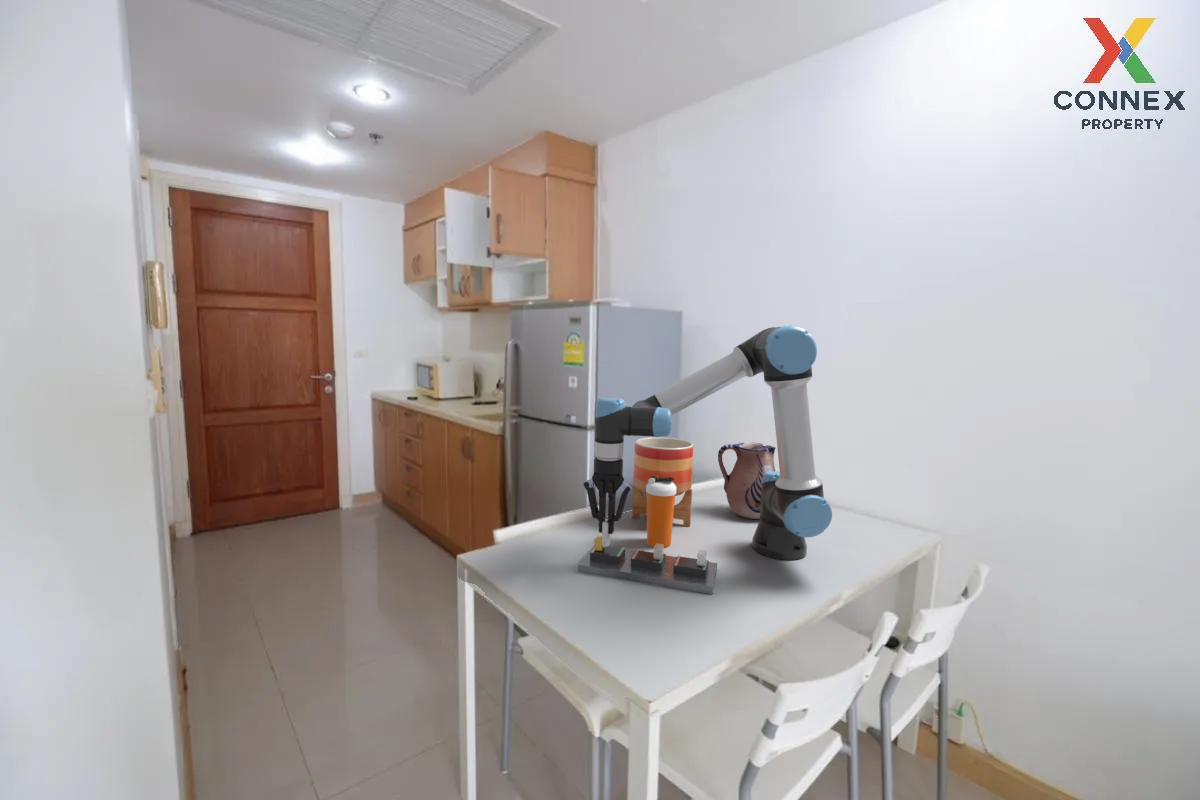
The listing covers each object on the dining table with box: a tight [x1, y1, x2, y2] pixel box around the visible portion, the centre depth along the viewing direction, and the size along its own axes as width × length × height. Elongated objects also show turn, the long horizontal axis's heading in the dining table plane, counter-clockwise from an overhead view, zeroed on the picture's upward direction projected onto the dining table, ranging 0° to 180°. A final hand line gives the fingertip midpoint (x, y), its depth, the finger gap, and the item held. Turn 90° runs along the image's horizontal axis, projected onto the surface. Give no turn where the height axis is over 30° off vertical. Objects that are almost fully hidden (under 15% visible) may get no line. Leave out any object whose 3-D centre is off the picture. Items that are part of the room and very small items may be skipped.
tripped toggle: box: [593, 534, 604, 551], centre depth 137 cm, size 2×3×3 cm, turn 162°
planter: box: [631, 436, 694, 528], centre depth 171 cm, size 20×20×27 cm
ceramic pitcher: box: [717, 442, 776, 520], centre depth 180 cm, size 18×21×25 cm
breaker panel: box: [576, 543, 718, 595], centre depth 134 cm, size 34×14×7 cm, turn 73°
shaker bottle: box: [645, 475, 676, 548], centre depth 152 cm, size 9×9×20 cm
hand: (605, 544), depth 137 cm, fingers closed
